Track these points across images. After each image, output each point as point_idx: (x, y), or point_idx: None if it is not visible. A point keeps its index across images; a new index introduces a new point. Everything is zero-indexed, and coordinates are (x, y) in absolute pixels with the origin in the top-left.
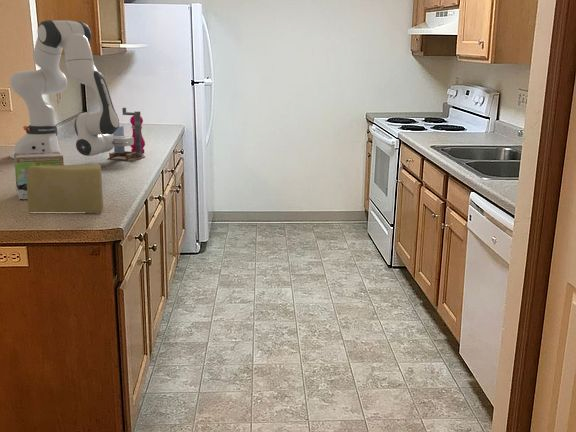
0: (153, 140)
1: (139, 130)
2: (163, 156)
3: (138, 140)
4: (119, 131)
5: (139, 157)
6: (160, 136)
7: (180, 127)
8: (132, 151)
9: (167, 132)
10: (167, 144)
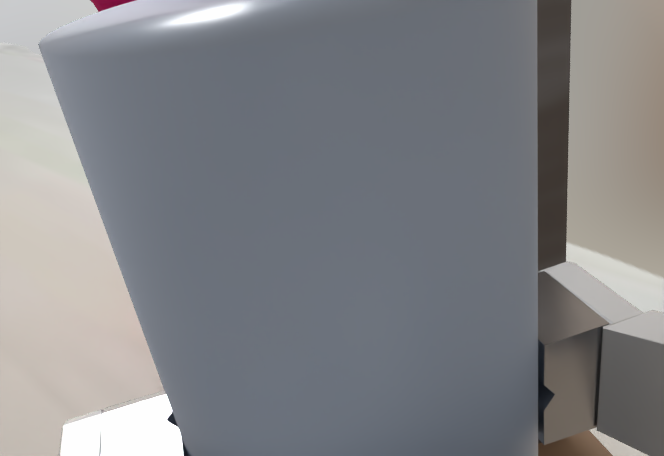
0: (53, 129)
1: (556, 12)
2: (582, 251)
3: (549, 211)
4: (525, 219)
5: (578, 450)
6: (35, 99)
7: (24, 50)
8: None
9: (22, 76)
10: None
